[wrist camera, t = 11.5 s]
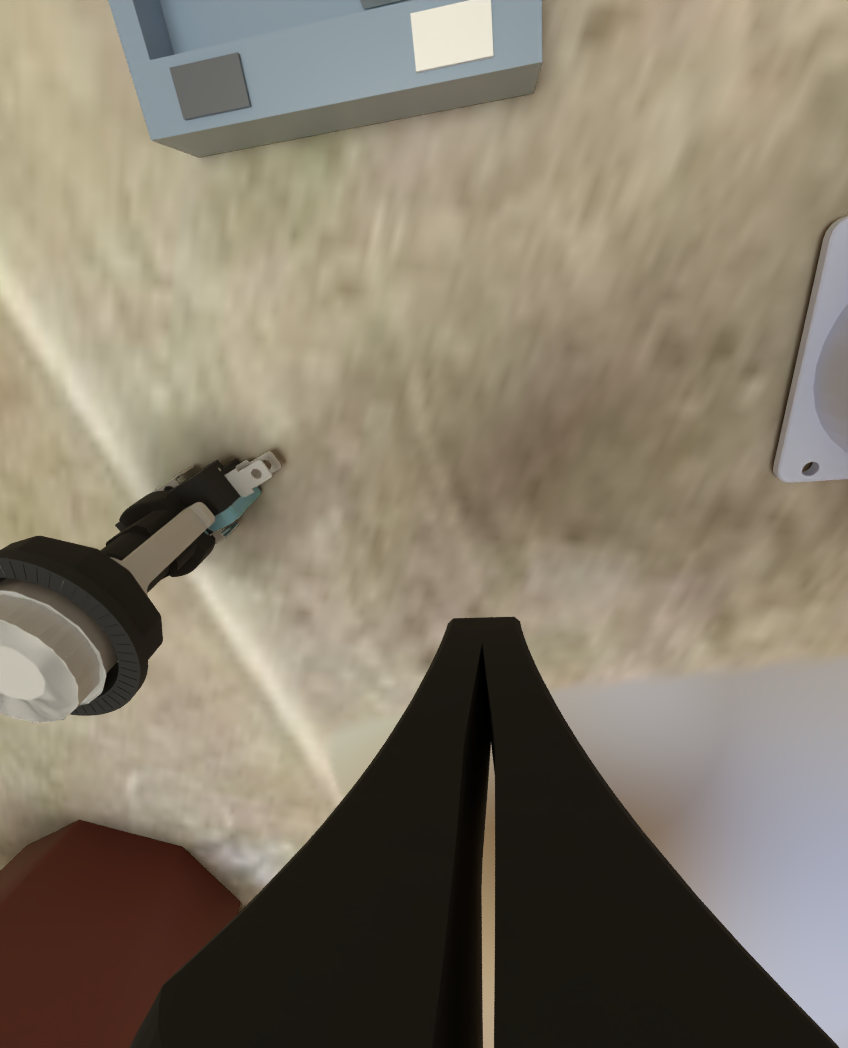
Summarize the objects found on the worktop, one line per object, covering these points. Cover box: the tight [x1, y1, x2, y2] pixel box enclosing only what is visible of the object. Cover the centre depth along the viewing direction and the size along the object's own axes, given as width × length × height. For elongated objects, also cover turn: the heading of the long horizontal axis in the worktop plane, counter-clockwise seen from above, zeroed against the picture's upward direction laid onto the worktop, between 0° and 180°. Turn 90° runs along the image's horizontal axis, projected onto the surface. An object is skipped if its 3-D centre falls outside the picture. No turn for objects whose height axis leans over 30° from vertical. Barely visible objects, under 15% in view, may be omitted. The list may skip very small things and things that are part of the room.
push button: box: [0, 451, 281, 723], centre depth 16 cm, size 7×5×10 cm
